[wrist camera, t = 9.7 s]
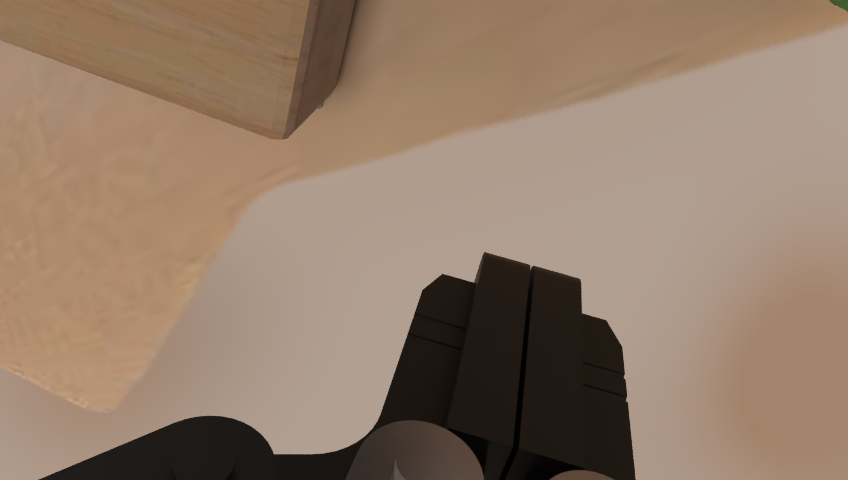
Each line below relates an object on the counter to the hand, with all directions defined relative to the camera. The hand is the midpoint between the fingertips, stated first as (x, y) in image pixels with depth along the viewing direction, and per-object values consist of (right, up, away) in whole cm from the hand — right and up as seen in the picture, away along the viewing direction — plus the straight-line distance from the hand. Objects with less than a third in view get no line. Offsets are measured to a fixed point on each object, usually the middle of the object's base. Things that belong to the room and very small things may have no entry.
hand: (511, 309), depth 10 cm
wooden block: (-7, +13, +29) cm, 32 cm away
